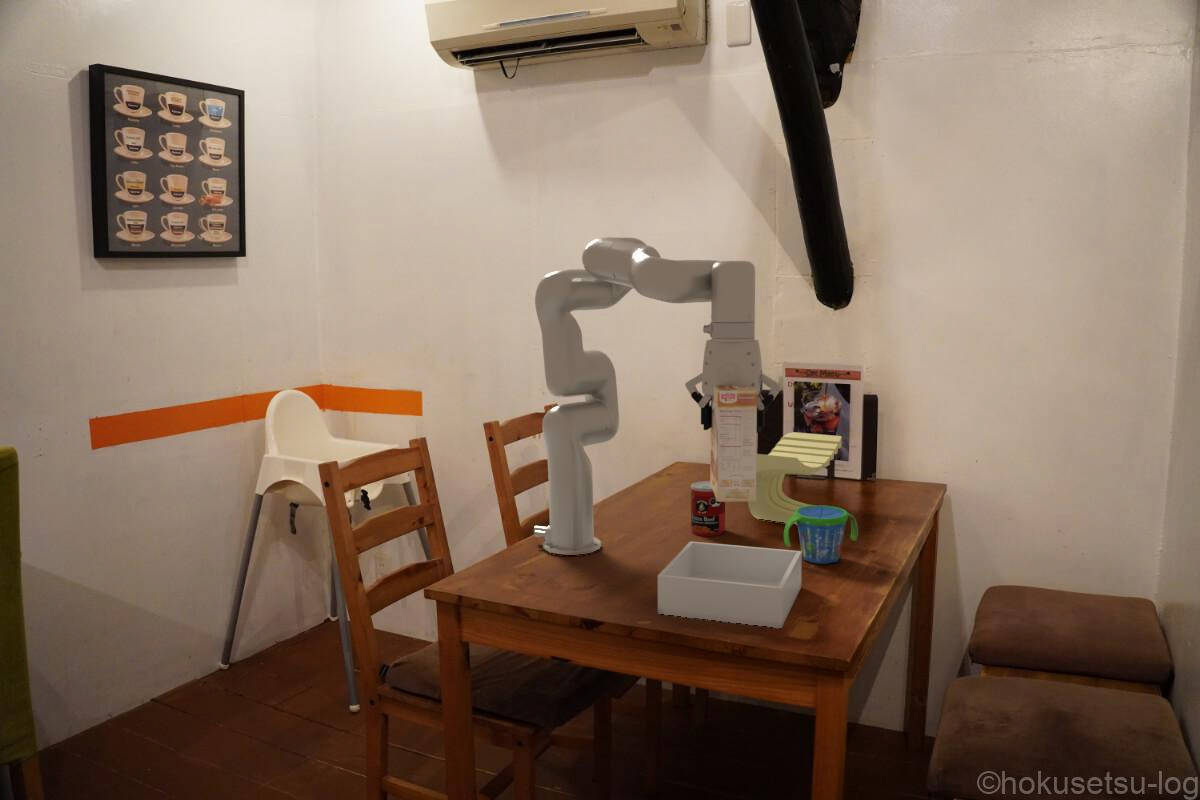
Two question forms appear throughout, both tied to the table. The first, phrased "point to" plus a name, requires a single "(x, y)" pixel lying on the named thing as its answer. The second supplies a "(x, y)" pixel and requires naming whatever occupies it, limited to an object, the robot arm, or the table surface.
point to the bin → (731, 584)
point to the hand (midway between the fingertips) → (732, 429)
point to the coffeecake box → (733, 443)
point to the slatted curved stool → (789, 472)
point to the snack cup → (821, 532)
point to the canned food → (706, 510)
